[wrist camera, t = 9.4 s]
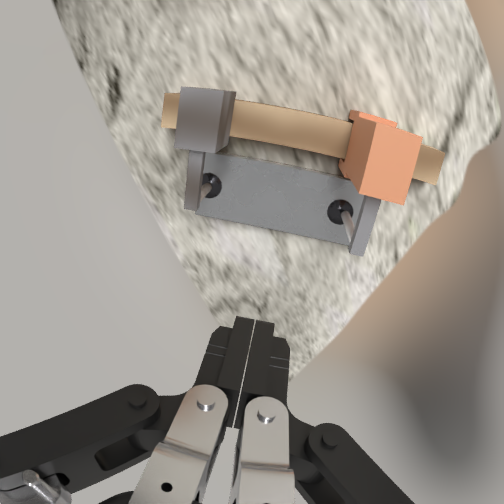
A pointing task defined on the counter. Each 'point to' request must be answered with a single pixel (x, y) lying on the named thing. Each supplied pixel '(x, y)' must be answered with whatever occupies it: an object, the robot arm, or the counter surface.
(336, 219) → the strip
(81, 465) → the robot arm
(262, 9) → the counter surface
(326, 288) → the counter surface
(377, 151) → the block
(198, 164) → the trammel bar
